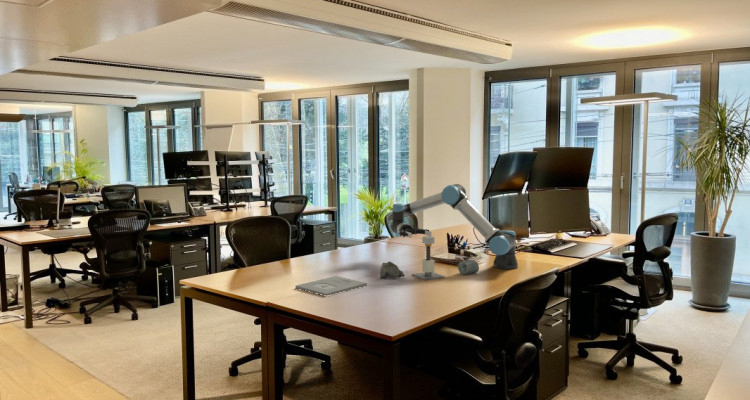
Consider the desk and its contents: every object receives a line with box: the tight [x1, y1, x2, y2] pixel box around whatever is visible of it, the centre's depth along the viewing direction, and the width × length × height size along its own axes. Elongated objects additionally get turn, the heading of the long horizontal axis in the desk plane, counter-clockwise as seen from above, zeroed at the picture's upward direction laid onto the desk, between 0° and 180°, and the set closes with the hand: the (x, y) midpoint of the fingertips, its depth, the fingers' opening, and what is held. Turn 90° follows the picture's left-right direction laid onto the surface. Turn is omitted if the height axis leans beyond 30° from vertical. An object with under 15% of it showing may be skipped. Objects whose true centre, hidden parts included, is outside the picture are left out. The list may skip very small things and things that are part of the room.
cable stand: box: [411, 235, 446, 281], centre depth 330 cm, size 14×14×23 cm
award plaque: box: [295, 275, 368, 296], centre depth 308 cm, size 25×30×2 cm
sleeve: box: [421, 258, 435, 273], centre depth 331 cm, size 5×5×7 cm
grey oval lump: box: [457, 259, 480, 276], centre depth 338 cm, size 14×10×10 cm
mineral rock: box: [379, 261, 406, 279], centre depth 327 cm, size 13×11×10 cm
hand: (421, 234), depth 343 cm, fingers open, 13 cm apart
